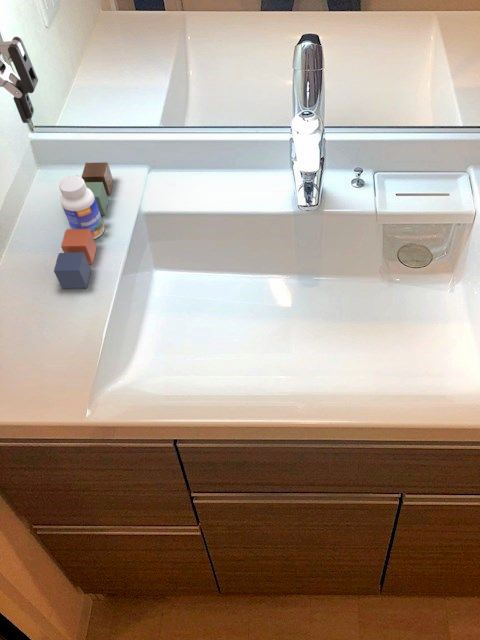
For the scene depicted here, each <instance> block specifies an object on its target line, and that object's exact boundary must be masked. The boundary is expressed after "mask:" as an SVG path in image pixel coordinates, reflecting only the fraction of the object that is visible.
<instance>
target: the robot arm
mask: <svg viewBox="0 0 480 640" xmlns="http://www.w3.org/2000/svg"><path fill="white" fill-rule="evenodd" d="M2 54H3V55H4V56H5V57H6V58H7V60H8V62H10V63H12V64H13V66H14V69H15V70H16V73H17V74H16V73H15V72H14V70H13V68H12V66H11V65H10V64H8V62H6V61H5V60H4V59H3V58H2V57H0V88H4V89H5V90H6V91H7V92H8V93H9V94H11V95H12V96H13V101H14V104H15V106H16V109H17V112H18V114H19V118H20V120H21V122H22V123H23V124H30V122H31V119H32V118H33V116H34V112H35V108H34V106H33V102H32V100H31V98H30V95H29V94H33V93H34V92H35V89H36V88H37V85H38V82H39V78H38V76H37V73H36V71H35V68H34V66H33V64H32V61H31V58H30V56H29V54H28V52H27V49H26V46H25V44H24V41H23V39H22V38H21V37H19V36H13V38H12V40H10V41H0V56H1V55H2Z"/></svg>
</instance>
